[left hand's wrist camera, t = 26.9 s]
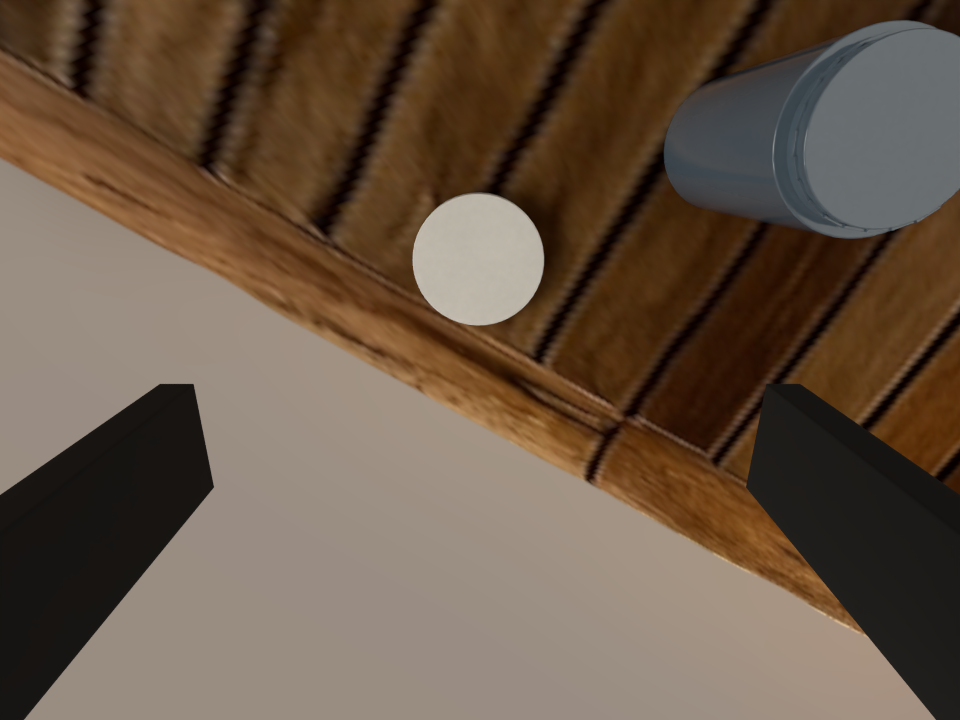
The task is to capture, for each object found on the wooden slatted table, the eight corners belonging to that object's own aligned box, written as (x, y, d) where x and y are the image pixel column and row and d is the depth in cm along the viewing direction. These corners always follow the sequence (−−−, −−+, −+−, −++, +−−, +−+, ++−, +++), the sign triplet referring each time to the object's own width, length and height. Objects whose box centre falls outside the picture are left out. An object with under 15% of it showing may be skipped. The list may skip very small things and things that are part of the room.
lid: (552, 304, 38) (555, 309, 37) (433, 331, 39) (431, 337, 38) (527, 178, 36) (529, 179, 34) (400, 209, 36) (396, 211, 35)
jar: (640, 129, 34) (754, 105, 20) (758, 45, 33) (971, -44, 19) (699, 235, 37) (838, 282, 22) (811, 162, 35) (1038, 162, 21)
